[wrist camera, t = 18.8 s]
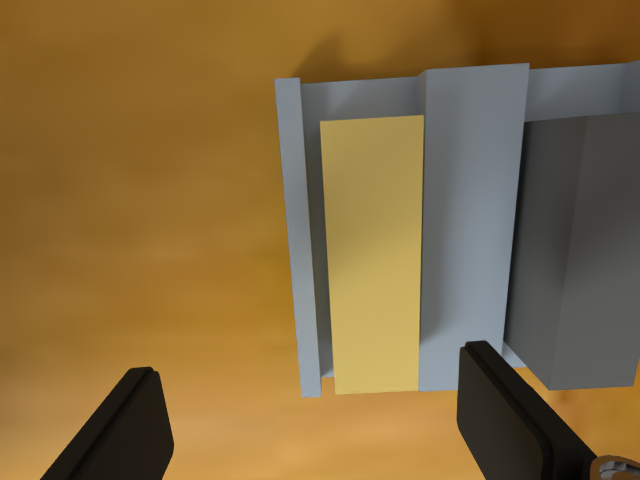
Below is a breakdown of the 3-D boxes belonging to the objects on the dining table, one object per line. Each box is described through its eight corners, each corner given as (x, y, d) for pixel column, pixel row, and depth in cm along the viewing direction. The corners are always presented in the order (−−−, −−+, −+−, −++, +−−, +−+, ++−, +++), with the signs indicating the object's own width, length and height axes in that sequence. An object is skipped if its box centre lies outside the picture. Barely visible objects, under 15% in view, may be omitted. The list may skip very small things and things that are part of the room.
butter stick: (320, 126, 16) (320, 121, 12) (397, 121, 15) (423, 114, 12) (332, 342, 18) (335, 394, 15) (397, 338, 18) (417, 390, 15)
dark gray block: (521, 122, 15) (588, 115, 12) (600, 117, 15) (693, 108, 12) (501, 338, 18) (549, 390, 15) (567, 335, 18) (633, 386, 15)
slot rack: (304, 366, 20) (301, 397, 18) (281, 88, 16) (274, 78, 14) (581, 352, 20) (617, 381, 17) (629, 66, 16) (685, 52, 13)
